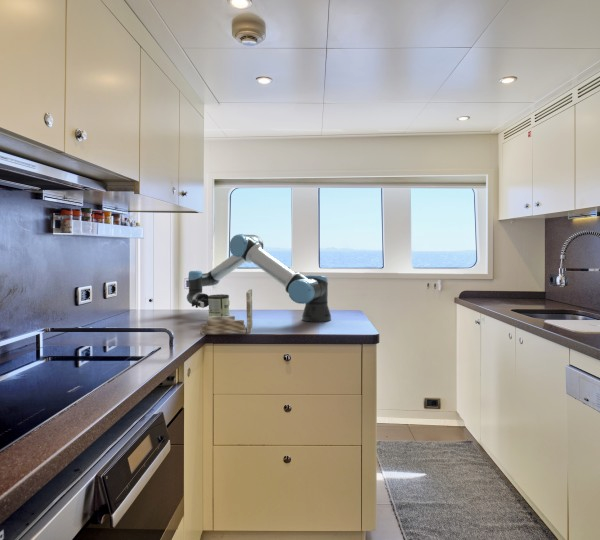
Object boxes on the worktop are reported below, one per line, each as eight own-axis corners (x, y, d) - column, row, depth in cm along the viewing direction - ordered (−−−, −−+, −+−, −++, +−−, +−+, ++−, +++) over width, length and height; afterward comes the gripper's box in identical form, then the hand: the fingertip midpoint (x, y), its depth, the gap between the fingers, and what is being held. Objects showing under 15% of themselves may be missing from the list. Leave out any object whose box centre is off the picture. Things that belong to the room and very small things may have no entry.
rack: (252, 326, 199) (252, 289, 198) (250, 333, 183) (249, 292, 182) (206, 327, 198) (205, 290, 197) (200, 334, 182) (199, 293, 181)
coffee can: (212, 321, 215) (211, 294, 214) (231, 321, 214) (231, 294, 213) (205, 325, 205) (205, 296, 204) (226, 325, 204) (225, 296, 203)
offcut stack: (245, 329, 185) (244, 315, 185) (244, 329, 183) (244, 316, 183) (202, 329, 184) (201, 316, 184) (201, 330, 182) (201, 317, 182)
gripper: (222, 304, 235) (238, 309, 217) (179, 308, 221) (192, 313, 204) (222, 291, 235) (238, 295, 217) (178, 294, 221) (192, 298, 203)
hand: (216, 304), depth 210 cm, fingers open, 13 cm apart
